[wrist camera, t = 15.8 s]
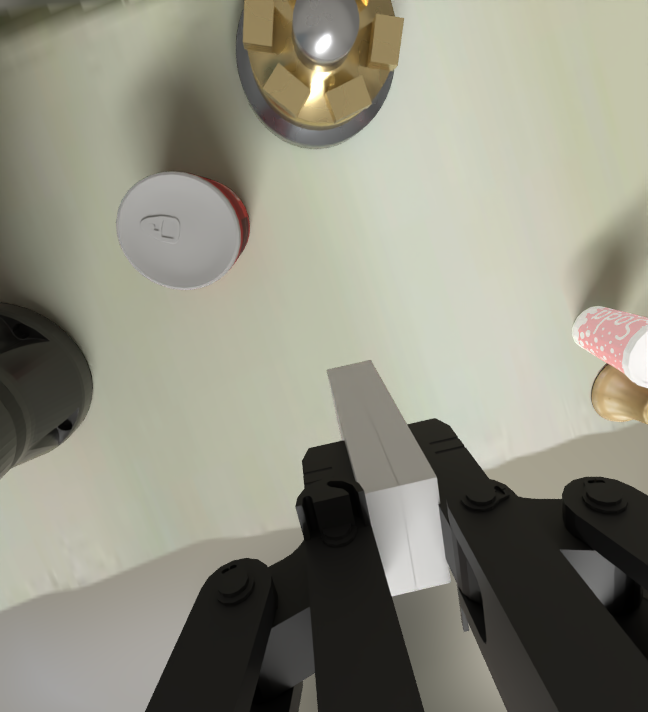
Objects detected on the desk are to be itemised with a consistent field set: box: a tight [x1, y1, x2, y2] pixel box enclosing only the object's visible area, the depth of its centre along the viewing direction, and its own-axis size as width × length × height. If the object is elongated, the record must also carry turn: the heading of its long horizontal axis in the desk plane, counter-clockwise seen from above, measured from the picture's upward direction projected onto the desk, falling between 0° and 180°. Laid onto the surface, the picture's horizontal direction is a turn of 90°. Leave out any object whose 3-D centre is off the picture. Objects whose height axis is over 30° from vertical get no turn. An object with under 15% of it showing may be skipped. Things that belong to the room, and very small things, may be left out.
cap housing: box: [236, 9, 394, 149], centre depth 35 cm, size 12×12×3 cm
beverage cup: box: [572, 306, 648, 388], centre depth 40 cm, size 6×6×14 cm
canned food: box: [116, 171, 250, 290], centre depth 34 cm, size 8×8×11 cm
